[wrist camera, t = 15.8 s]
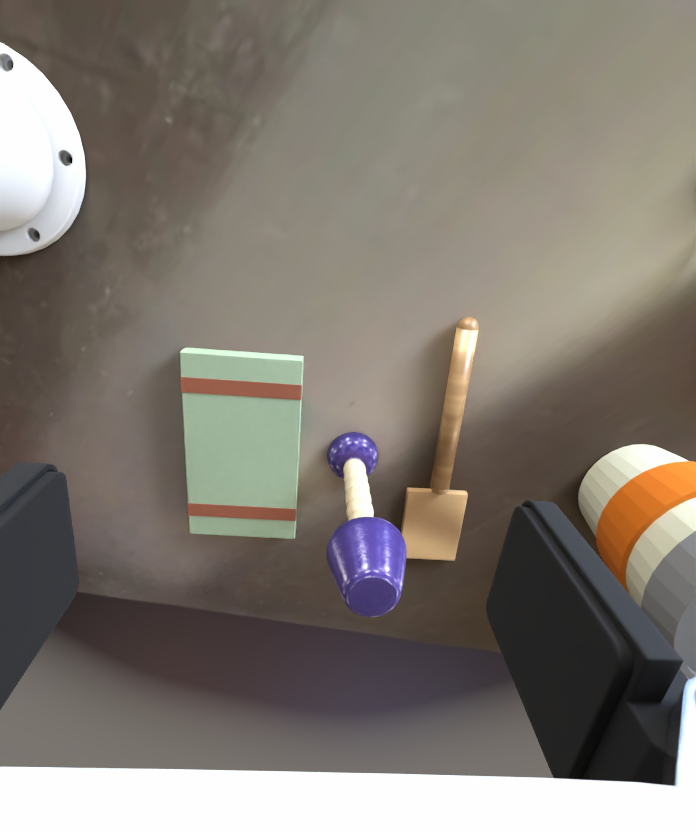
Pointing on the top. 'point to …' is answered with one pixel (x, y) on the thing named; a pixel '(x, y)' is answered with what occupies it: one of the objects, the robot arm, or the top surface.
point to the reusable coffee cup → (649, 535)
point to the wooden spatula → (443, 466)
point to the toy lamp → (363, 535)
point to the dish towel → (241, 441)
